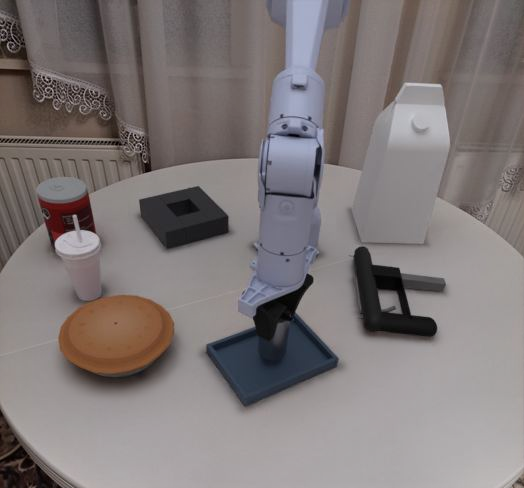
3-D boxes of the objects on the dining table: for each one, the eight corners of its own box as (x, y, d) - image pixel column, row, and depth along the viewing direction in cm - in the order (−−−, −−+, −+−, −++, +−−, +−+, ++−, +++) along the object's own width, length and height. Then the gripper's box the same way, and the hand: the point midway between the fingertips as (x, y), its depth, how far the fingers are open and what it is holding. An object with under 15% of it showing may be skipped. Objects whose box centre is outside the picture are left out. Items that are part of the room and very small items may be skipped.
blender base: (199, 201, 103) (198, 185, 100) (228, 232, 95) (228, 215, 93) (140, 215, 98) (138, 199, 95) (167, 249, 90) (165, 232, 88)
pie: (81, 310, 78) (74, 284, 74) (182, 316, 78) (180, 290, 75) (48, 386, 67) (38, 360, 64) (166, 393, 67) (162, 368, 64)
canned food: (62, 230, 93) (47, 173, 85) (105, 236, 92) (94, 179, 84) (44, 254, 87) (26, 196, 79) (89, 260, 87) (76, 202, 79)
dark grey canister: (265, 334, 74) (268, 295, 68) (295, 350, 72) (300, 311, 67) (248, 350, 71) (250, 311, 66) (279, 367, 69) (284, 328, 64)
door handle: (438, 254, 90) (349, 243, 89) (466, 332, 76) (360, 320, 75) (431, 269, 92) (344, 259, 91) (457, 347, 78) (354, 336, 77)
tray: (294, 319, 79) (295, 311, 78) (337, 366, 73) (339, 358, 71) (206, 352, 73) (206, 344, 72) (244, 406, 67) (245, 398, 65)
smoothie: (100, 309, 78) (82, 230, 68) (61, 302, 79) (37, 223, 69) (116, 284, 83) (102, 207, 73) (79, 278, 83) (60, 200, 73)
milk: (409, 212, 104) (449, 74, 86) (423, 243, 96) (471, 99, 78) (351, 210, 104) (379, 71, 85) (361, 242, 96) (394, 96, 77)
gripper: (288, 205, 65) (279, 289, 74) (216, 257, 56) (217, 344, 66) (336, 224, 62) (321, 309, 72) (269, 282, 53) (262, 369, 63)
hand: (274, 327), depth 68 cm, fingers closed on dark grey canister, 4 cm apart
